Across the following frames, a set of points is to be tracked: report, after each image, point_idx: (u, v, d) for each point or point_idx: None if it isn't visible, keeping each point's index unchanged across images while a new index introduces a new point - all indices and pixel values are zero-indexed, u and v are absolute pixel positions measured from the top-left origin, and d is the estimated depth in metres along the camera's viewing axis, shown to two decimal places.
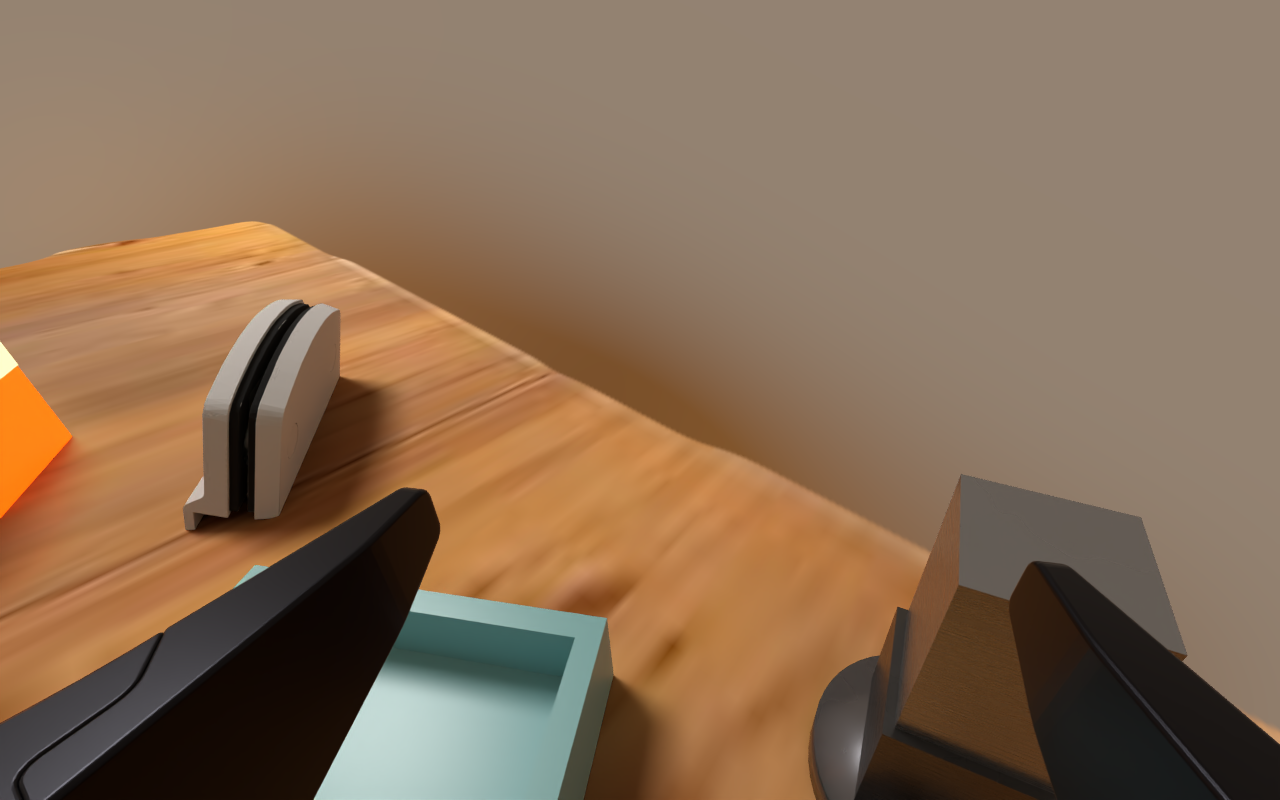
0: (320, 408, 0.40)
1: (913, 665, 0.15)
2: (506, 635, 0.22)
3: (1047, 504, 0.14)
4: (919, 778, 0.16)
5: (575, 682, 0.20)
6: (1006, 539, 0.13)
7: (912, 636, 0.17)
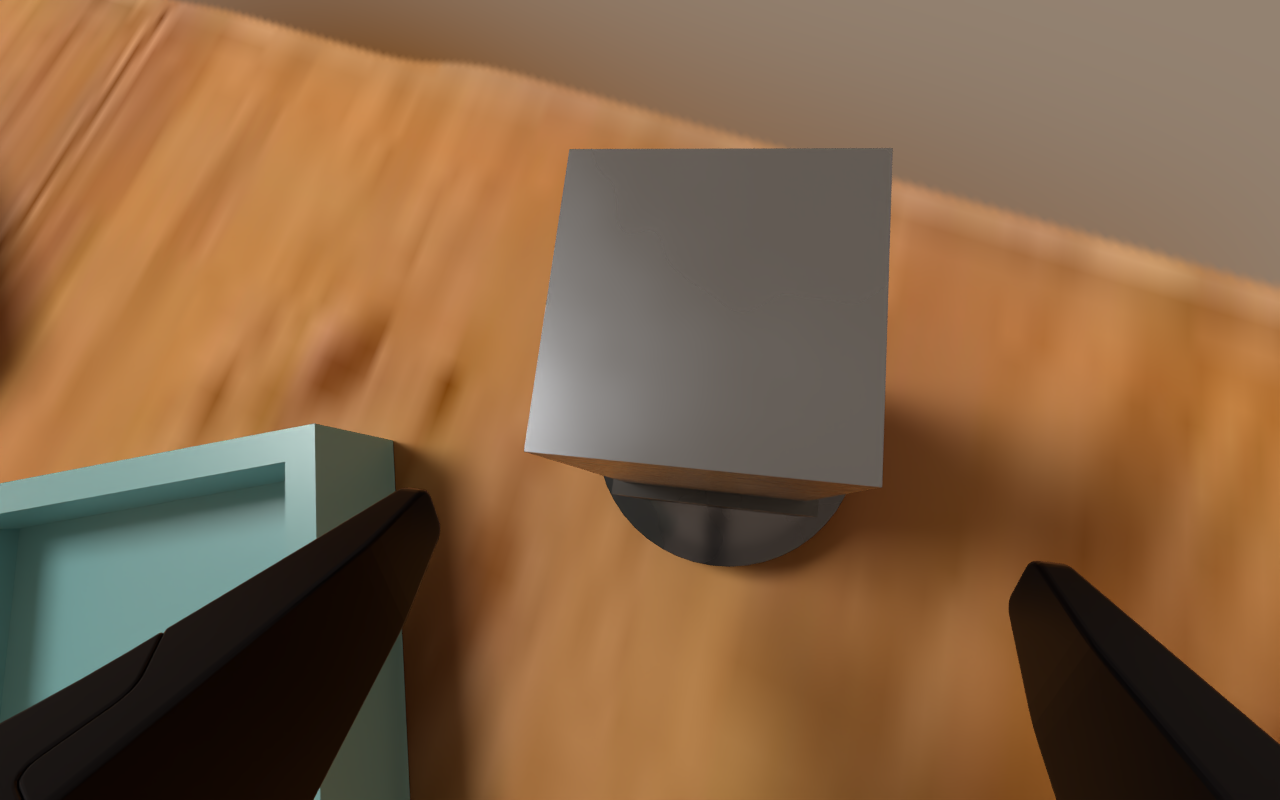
0: None
1: None
2: (219, 478, 0.18)
3: (719, 177, 0.07)
4: (674, 501, 0.14)
5: (300, 515, 0.16)
6: (625, 303, 0.07)
7: None
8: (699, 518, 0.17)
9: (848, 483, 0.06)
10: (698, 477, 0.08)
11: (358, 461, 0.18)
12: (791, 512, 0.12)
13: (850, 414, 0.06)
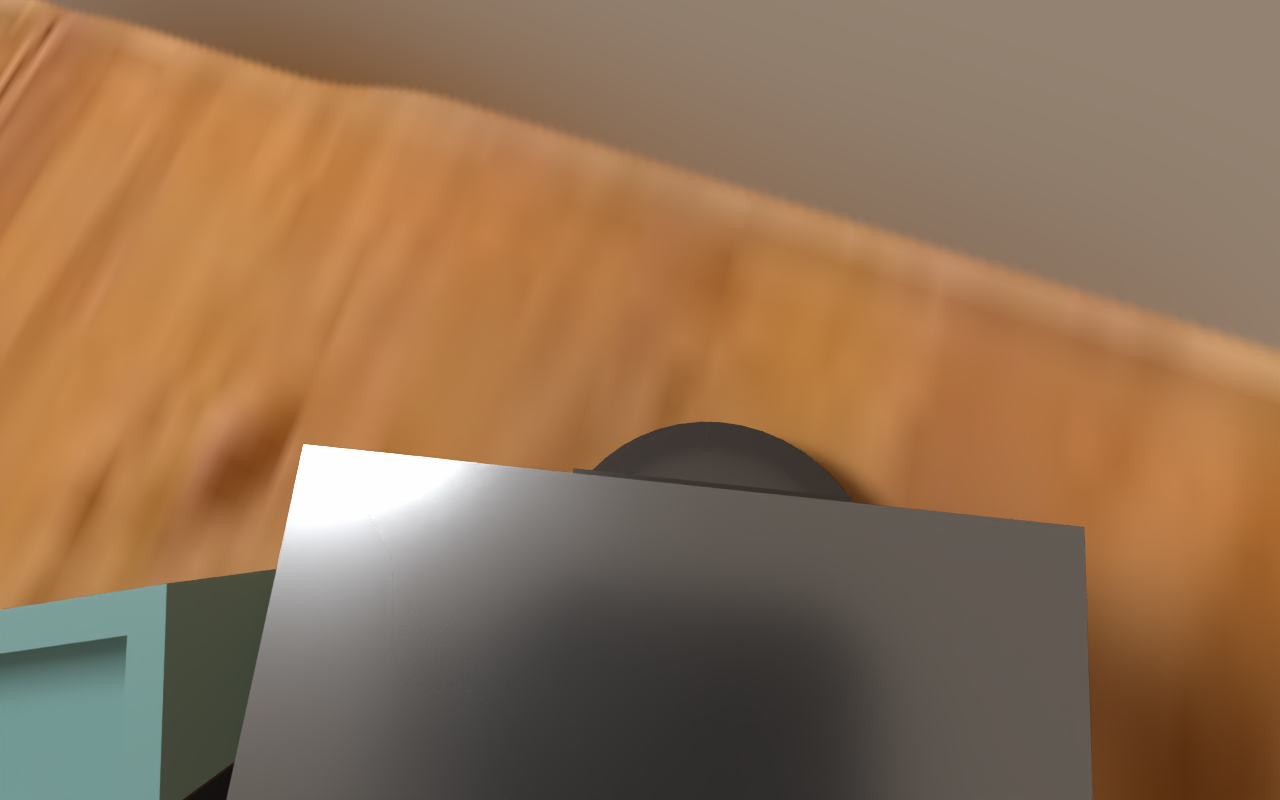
0: None
1: None
2: None
3: (634, 560, 0.03)
4: None
5: (143, 712, 0.12)
6: None
7: None
8: None
9: None
10: None
11: (241, 612, 0.14)
12: None
13: None
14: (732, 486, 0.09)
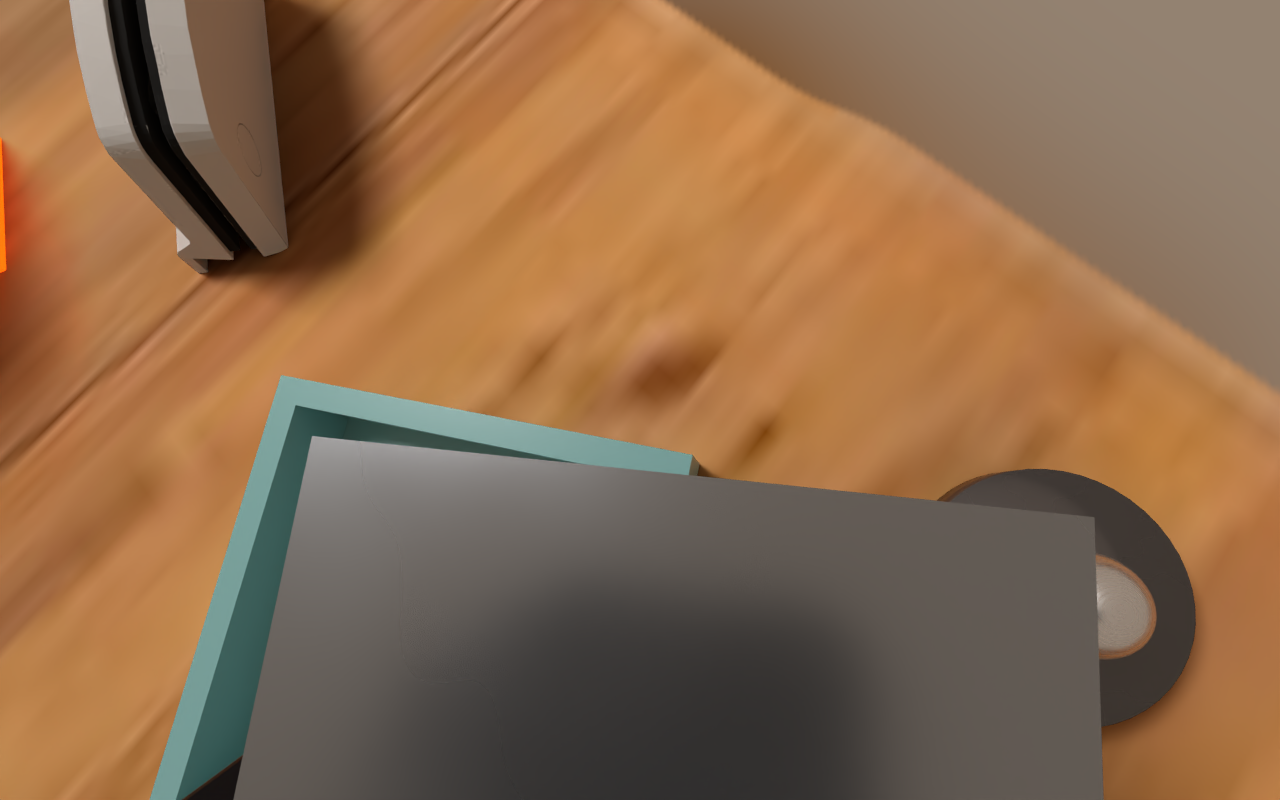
0: (261, 66, 0.28)
1: None
2: (578, 463, 0.19)
3: (643, 550, 0.03)
4: None
5: None
6: None
7: None
8: None
9: None
10: None
11: None
12: None
13: None
14: None
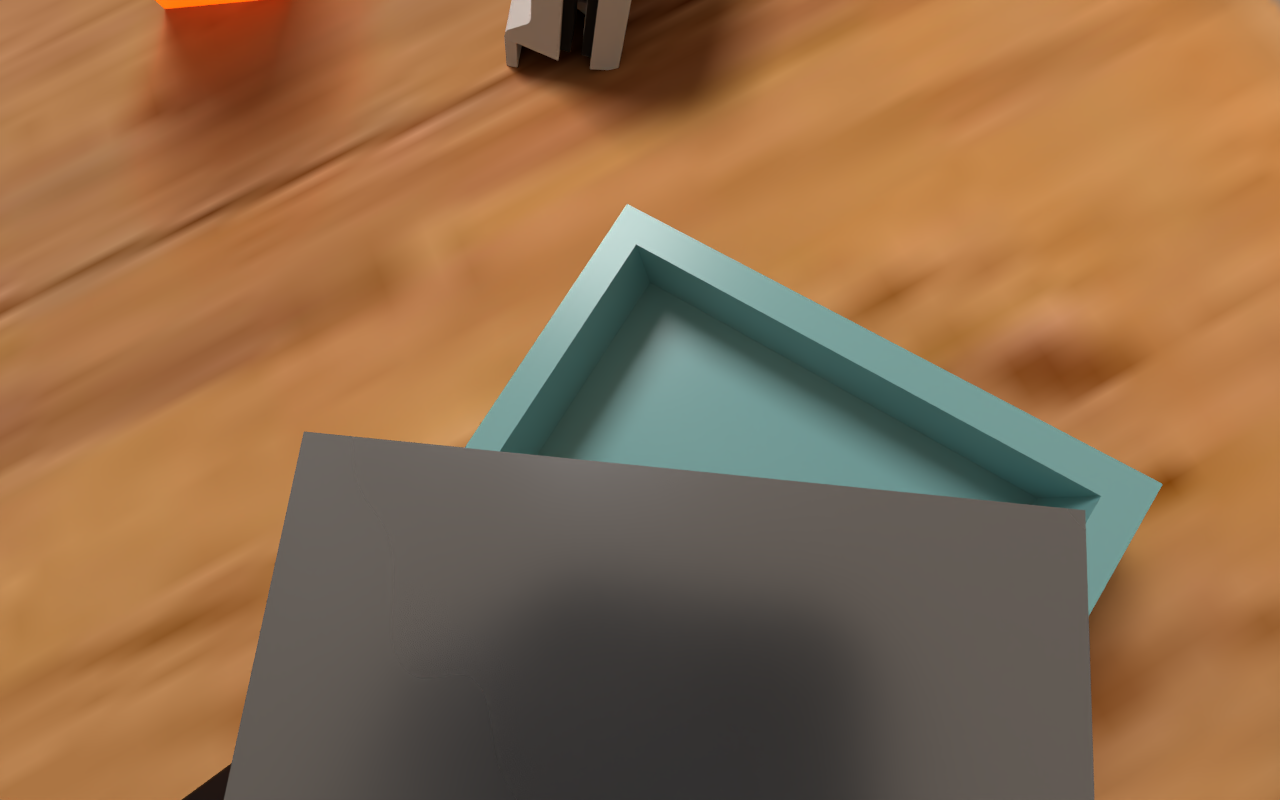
0: None
1: None
2: (978, 437, 0.15)
3: (634, 544, 0.03)
4: None
5: (1089, 566, 0.13)
6: None
7: None
8: None
9: None
10: None
11: None
12: None
13: None
14: None
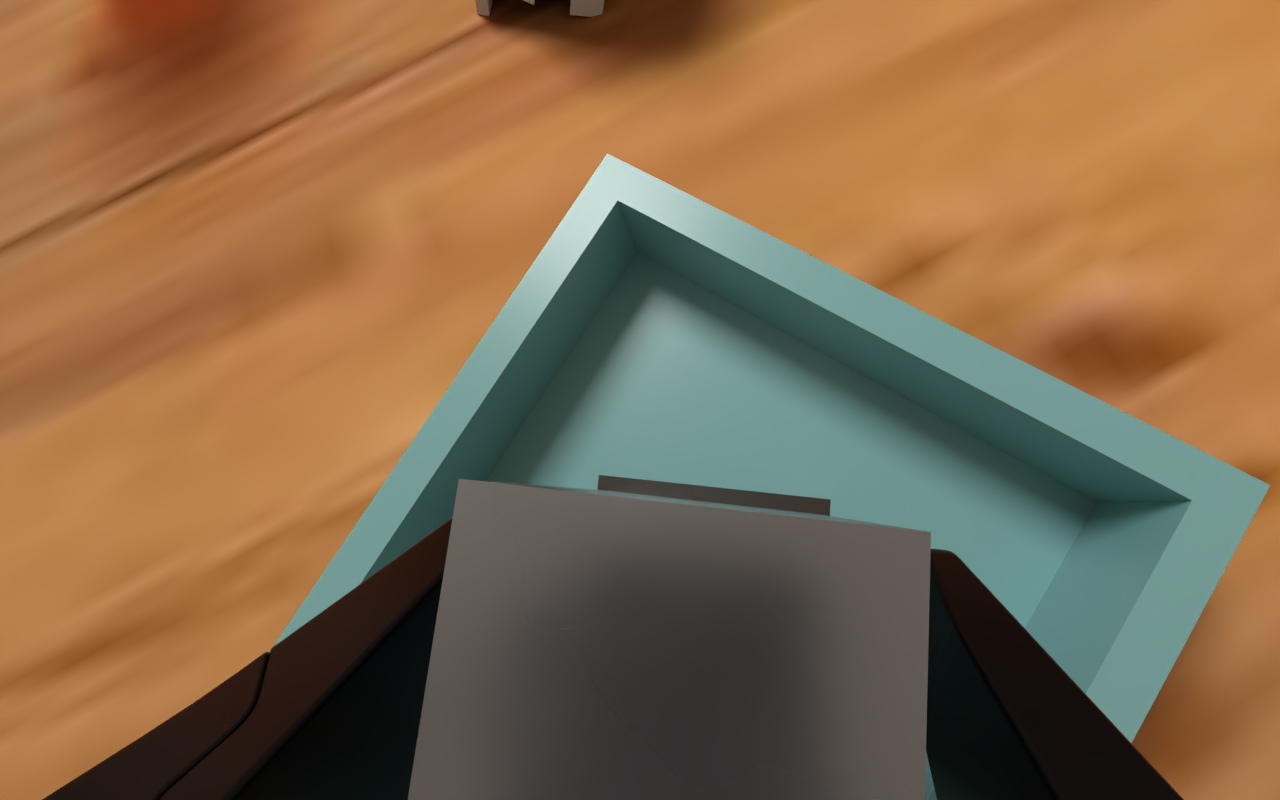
0: None
1: None
2: (1031, 428, 0.12)
3: (671, 550, 0.05)
4: None
5: (1180, 588, 0.11)
6: (530, 748, 0.05)
7: None
8: None
9: None
10: None
11: None
12: None
13: None
14: (731, 490, 0.11)
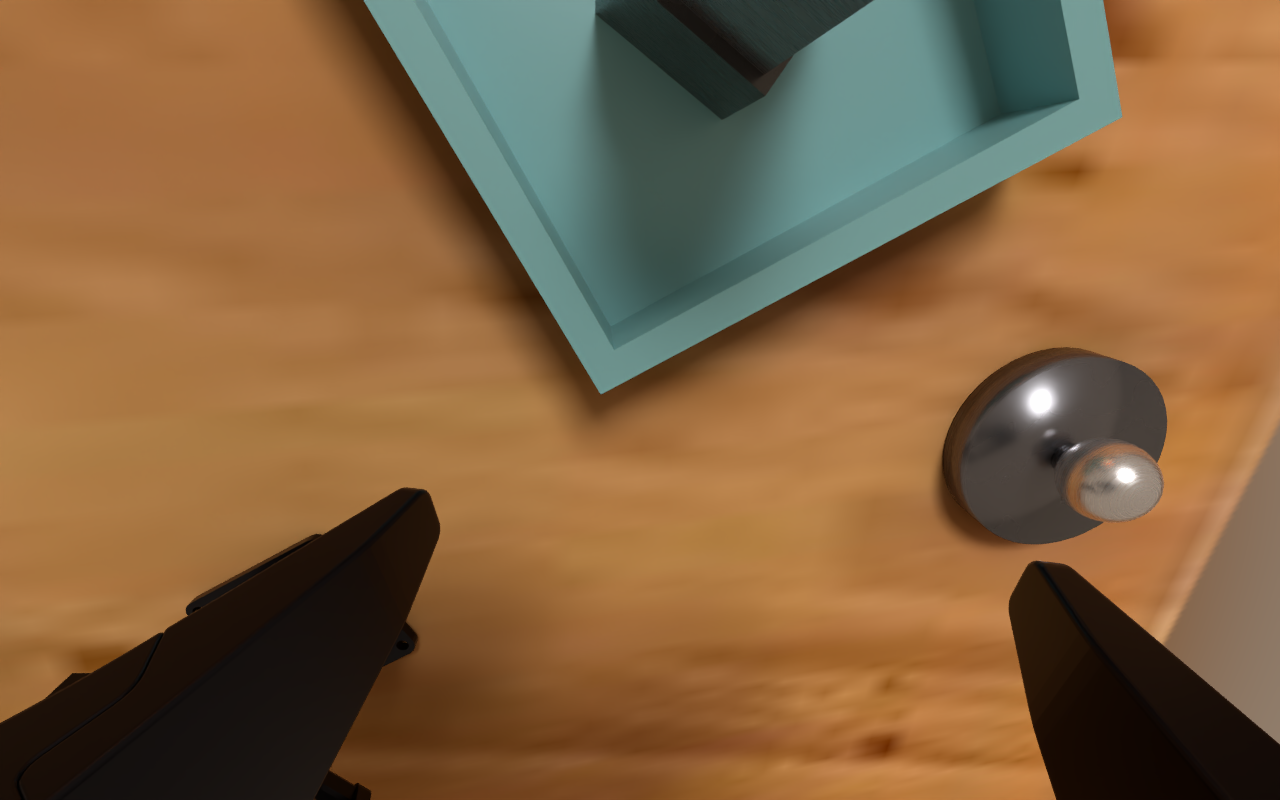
0: None
1: None
2: None
3: None
4: (642, 14, 0.13)
5: (1023, 150, 0.15)
6: None
7: None
8: (999, 462, 0.21)
9: None
10: None
11: None
12: (747, 78, 0.12)
13: None
14: None
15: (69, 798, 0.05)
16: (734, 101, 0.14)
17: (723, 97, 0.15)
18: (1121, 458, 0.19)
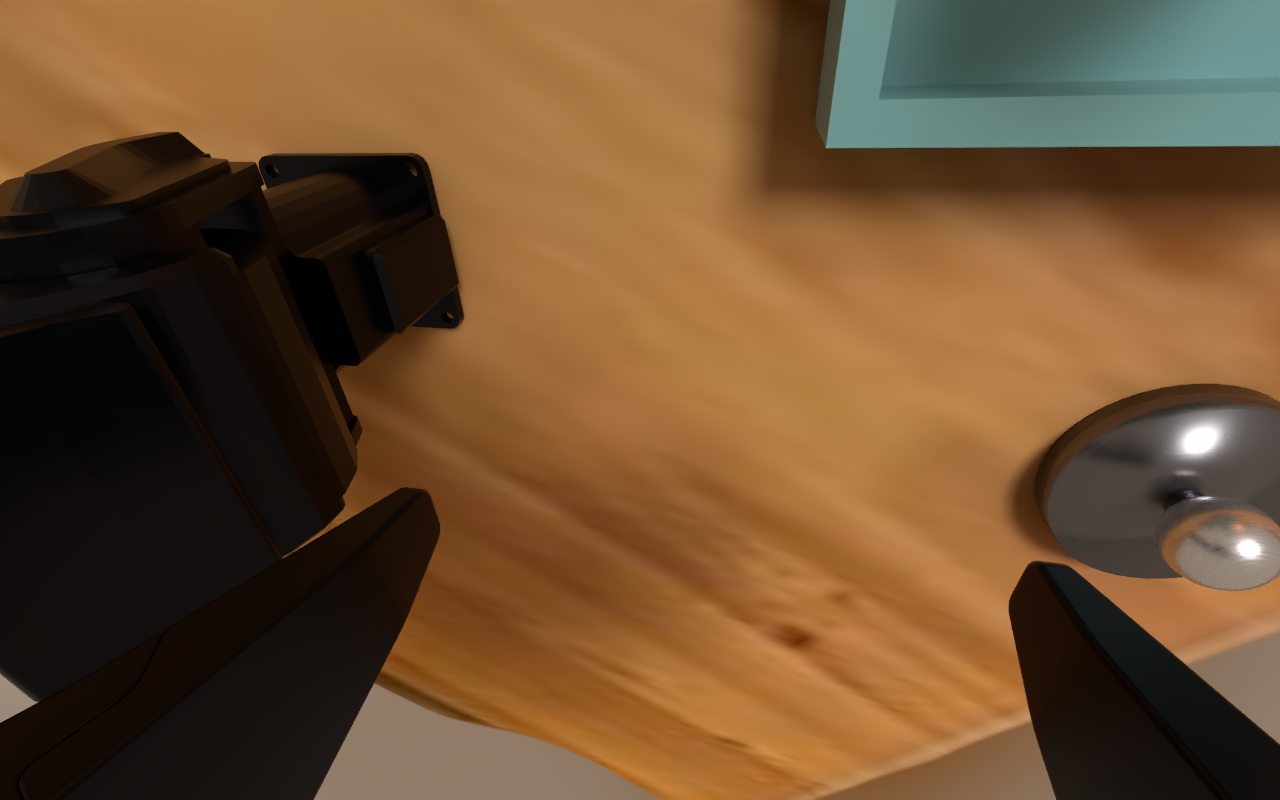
0: None
1: None
2: None
3: None
4: None
5: None
6: None
7: None
8: (1118, 471, 0.19)
9: None
10: None
11: None
12: None
13: None
14: None
15: (69, 798, 0.05)
16: None
17: None
18: (1262, 531, 0.17)
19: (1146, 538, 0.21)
